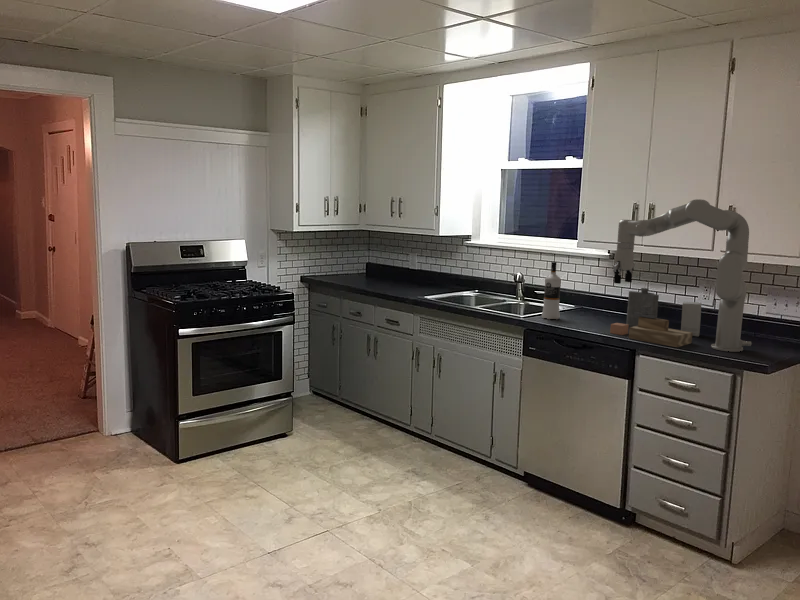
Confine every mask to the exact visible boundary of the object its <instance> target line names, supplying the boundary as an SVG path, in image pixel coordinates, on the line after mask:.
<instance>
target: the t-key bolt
mask: <svg viewBox="0 0 800 600" xmlns="http://www.w3.org/2000/svg"><path fill="white" fill-rule="evenodd" d="M650 310H651V306H641V307H640V311H643V313H639V312H635V313H634V314H633V315H634V316H641V317H647V318H653V319H654V318H658V314H657V315H652V314H648V311H650Z"/></svg>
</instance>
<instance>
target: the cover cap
mask: <svg viewBox="0 0 800 600" xmlns="http://www.w3.org/2000/svg"><path fill="white" fill-rule="evenodd" d="M629 328H630V326H629V325H628V324H626V323H622V322H621V323H620V322H615V323H610V329H609V333H610V334H613V335H619V336H624V335H629Z"/></svg>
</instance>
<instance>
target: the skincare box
mask: <svg viewBox="0 0 800 600" xmlns="http://www.w3.org/2000/svg"><path fill="white" fill-rule="evenodd" d="M701 317H702V302H697V301H695V302H693V301H683V302H682V309H681V323H680V324H681V325H680V330H682V331H688V332H693V334H692V337H699V336H700V331H701V330H700V329H701Z"/></svg>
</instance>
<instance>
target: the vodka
mask: <svg viewBox="0 0 800 600" xmlns="http://www.w3.org/2000/svg"><path fill="white" fill-rule="evenodd" d="M557 263H558V262H557V261H551V266H550V274H549V275H548V276H546V277H545V278H544V290H543V291H544V293H543V294H544V295H543V307H542V312H541V317H542V318H543V319H544V318H547V319H546V320H550V319H556V320H559V319H560V318H561V317H560V316H561V315H560V301H561V300H560V298H561V286H562V285H561V283H562V279H561V277H560V276H558V275H557Z"/></svg>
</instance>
